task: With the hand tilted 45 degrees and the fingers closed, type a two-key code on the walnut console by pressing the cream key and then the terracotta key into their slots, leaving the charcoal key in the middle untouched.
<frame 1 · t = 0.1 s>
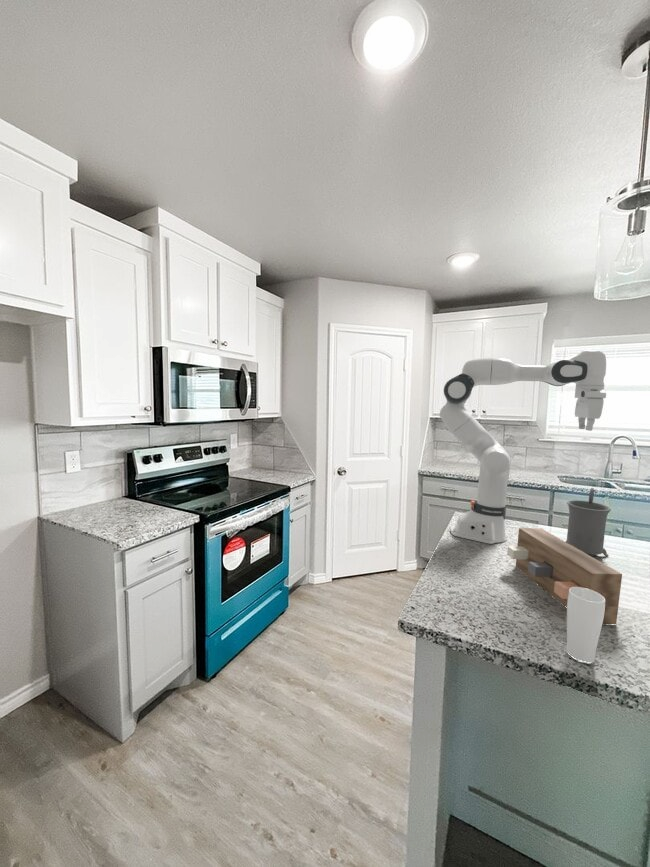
hand: (585, 429, 140), 48 cm above the countertop, tool pointing down, fingers open, 8 cm apart
charcoal key: (540, 569, 110), point 7 cm above the countertop, slide at 0.0 cm
cream key: (518, 552, 122), point 7 cm above the countertop, slide at 0.0 cm
console: (558, 591, 111), on the countertop
grey footed pot: (583, 553, 141), on the countertop
drinking glass: (579, 658, 82), on the countertop
terracotta key: (568, 590, 98), point 7 cm above the countertop, slide at 0.0 cm
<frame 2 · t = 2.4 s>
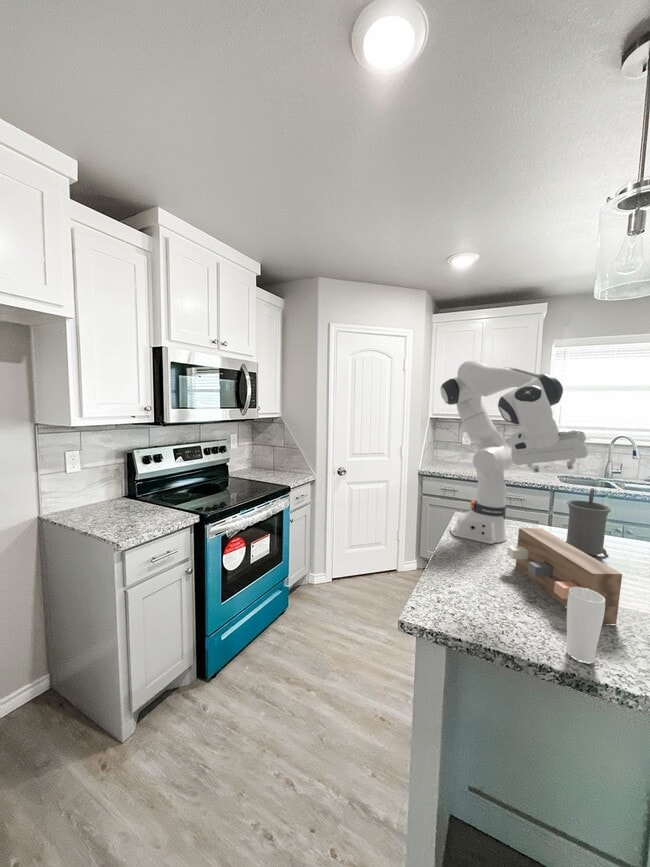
hand: (553, 469, 115), 36 cm above the countertop, tool tilted 35°, fingers open, 8 cm apart
nothing on the countertop moved.
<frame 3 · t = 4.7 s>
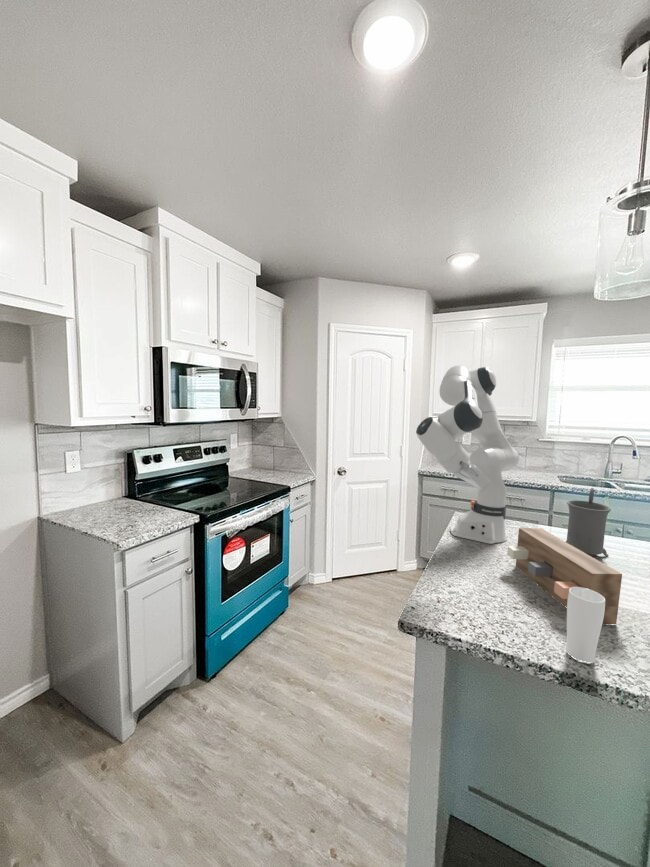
hand: (482, 490, 120), 28 cm above the countertop, tool tilted 45°, fingers closed
nothing on the countertop moved.
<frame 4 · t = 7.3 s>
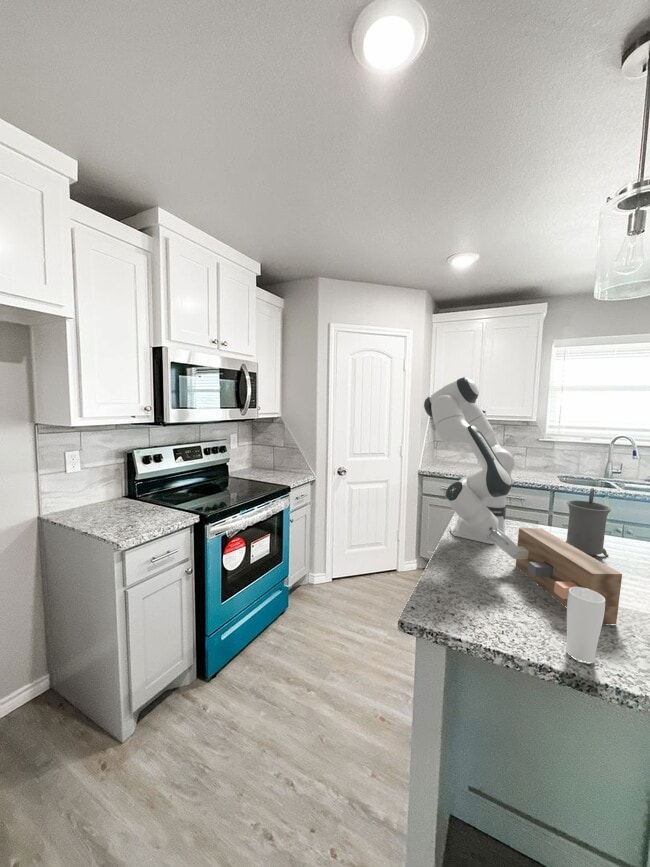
hand: (509, 552, 122), 7 cm above the countertop, tool tilted 45°, fingers closed, pressing on cream key
cream key: (519, 552, 122), point 7 cm above the countertop, slide at 0.5 cm, touching gripper
everything else where it was.
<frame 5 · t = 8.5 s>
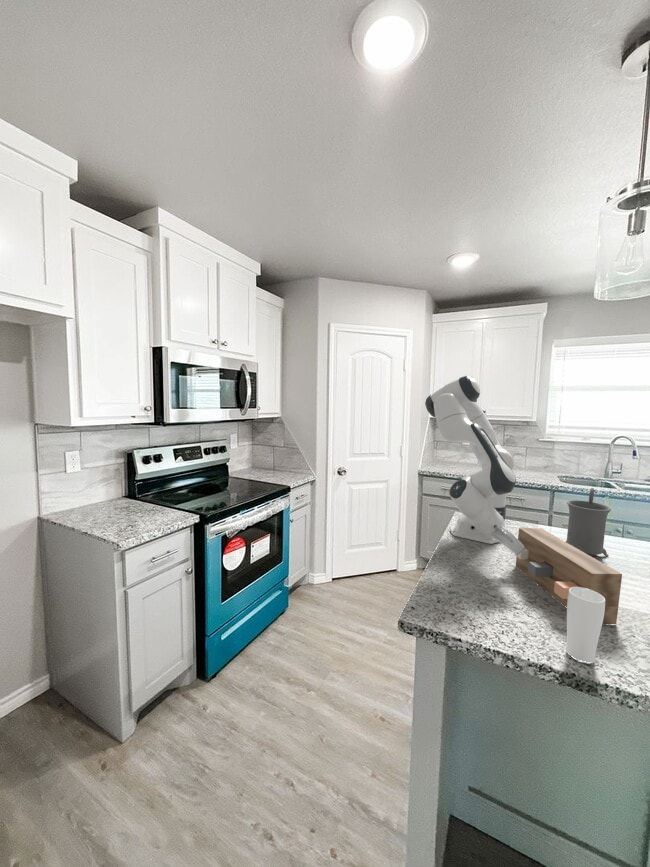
hand: (514, 549, 122), 8 cm above the countertop, tool tilted 45°, fingers closed
cream key: (525, 552, 122), point 7 cm above the countertop, slide at 2.6 cm
everything else where it was.
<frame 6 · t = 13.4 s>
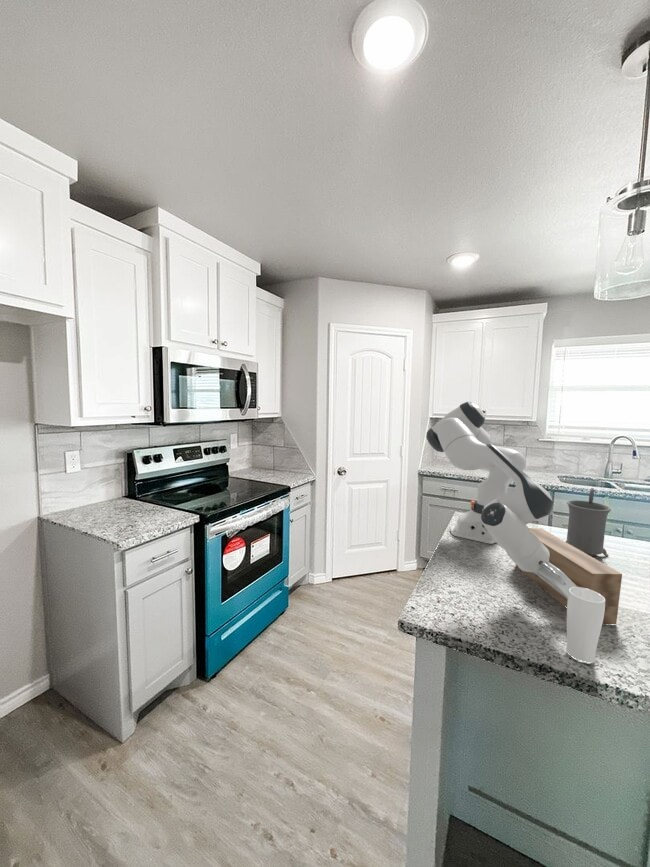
hand: (561, 589, 98), 7 cm above the countertop, tool tilted 45°, fingers closed, pressing on terracotta key
terracotta key: (573, 590, 98), point 7 cm above the countertop, slide at 1.5 cm, touching gripper
everything else where it was.
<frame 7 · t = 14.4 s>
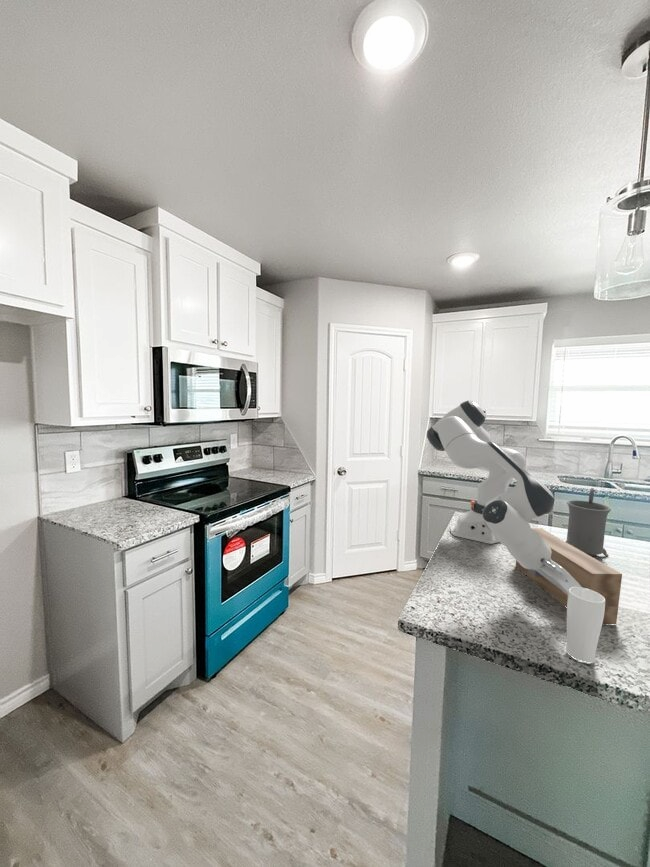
hand: (563, 587, 98), 8 cm above the countertop, tool tilted 45°, fingers closed
terracotta key: (577, 590, 98), point 7 cm above the countertop, slide at 2.6 cm
everything else where it was.
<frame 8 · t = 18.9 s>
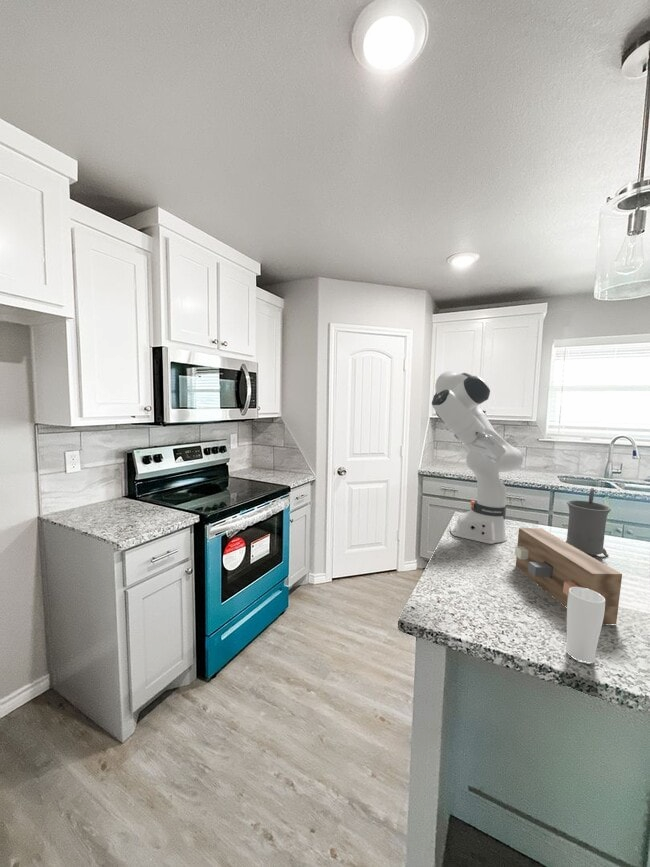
hand: (496, 461, 122), 37 cm above the countertop, tool tilted 45°, fingers closed
nothing on the countertop moved.
at the end: cream key slide at 2.6 cm; terracotta key slide at 2.6 cm; charcoal key slide at 0.0 cm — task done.
